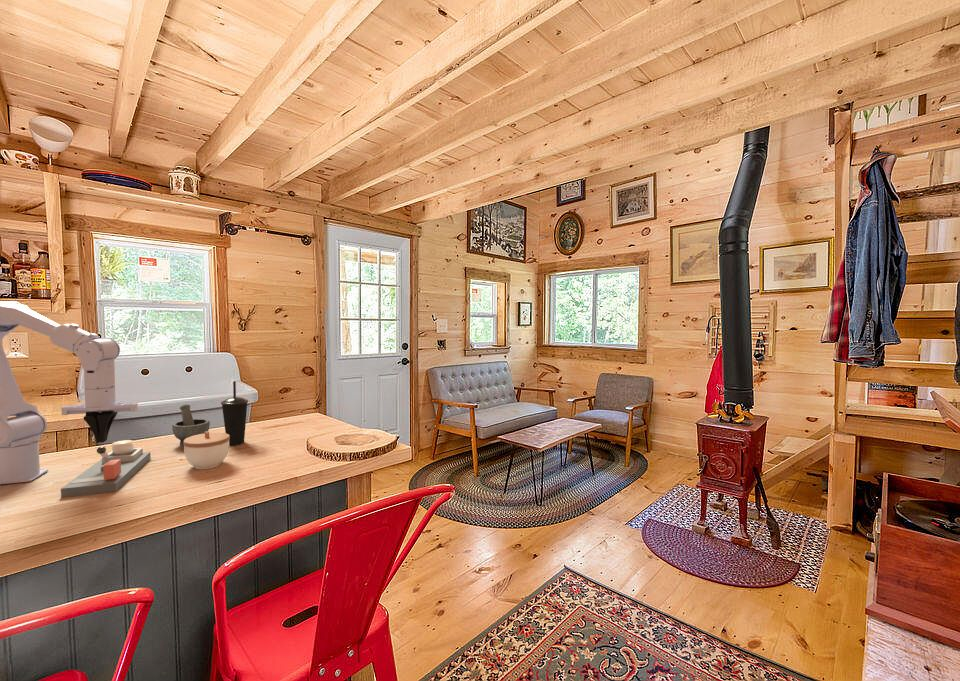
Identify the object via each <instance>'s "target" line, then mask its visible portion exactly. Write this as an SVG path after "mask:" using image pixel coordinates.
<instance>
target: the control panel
mask: <svg viewBox="0 0 960 681" xmlns="http://www.w3.org/2000/svg"><path fill="white" fill-rule="evenodd" d="M143 450H144V448H143V447H136V448H134V447H133V451H132V452H129V453H125V454H112V450H111V451H110V452H107V454H108V455H109V457H110V458H111V459H109V460H107V461H104V459H103V458H102V457H101V459H100V460H98V461H97V462H95V463H94V464H93V465H91V466H90V467H89V468H87V469H85V470H84V471H83V472H81V474H79V475H77V476H76V477H75V478H74V479H72V480H71V481H69V482H68V483H67V484H65V485H64V486H63V487H61V488H60V498H69V497H77V496H86V495H95V494H105V493H113V492H118V490H119V489H121V487H122V486H124V485H125V484H126V483H127V481H129V480H130V479H131V478H132V477H133V476H134V475H135V474H137V473H138V471H139V470H140V469H141V468H143V467H144V466H145V465H146V464H147V463H148V462H149V461H150V460H151V458H152V457H151V451H143ZM118 459H121V473H120V474H119V475H118V476H117V477H116V478H115V479H107V480H104V472H103V465H105V464H106V463H107V462H109V461H110V460H118Z"/></svg>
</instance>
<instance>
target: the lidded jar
mask: <svg viewBox="0 0 960 681" xmlns="http://www.w3.org/2000/svg"><path fill="white" fill-rule="evenodd" d="M229 439H230V435H229V434H226V433H225V432H210V431H209V430H208V431H207V432H205V433H204V434H198V435H194V436H191V437H188V438H186V439H185V440H184V441H183V444H184V447H183V449H184V451H183V452H184V456H185V459H186V461H187V462H188V464H190V465H191V466H192V467H193V468H194V469H195V470H208V469H209V470H210V469H215V468H218V467H219V466H220V465H221V463H223V462H224V460H225V459H226V458H227V456H228V453H229V450H230V445H229Z"/></svg>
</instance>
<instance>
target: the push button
mask: <svg viewBox="0 0 960 681" xmlns="http://www.w3.org/2000/svg"><path fill="white" fill-rule="evenodd" d="M133 449H134V440H130V439H128V440H125V439H124V440H119V441H114V442H112V443H111V451H112V454H125V453H129V452H132V451H133Z"/></svg>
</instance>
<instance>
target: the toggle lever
mask: <svg viewBox="0 0 960 681" xmlns="http://www.w3.org/2000/svg"><path fill="white" fill-rule="evenodd" d="M96 453H97V454H99V455H100V456H101V459H102V458H103V459H104V461H107V460H109V459H111V458H110V457H109V455H108V452H107V448H106V447H105V446H99V447H97V449H96Z"/></svg>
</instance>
